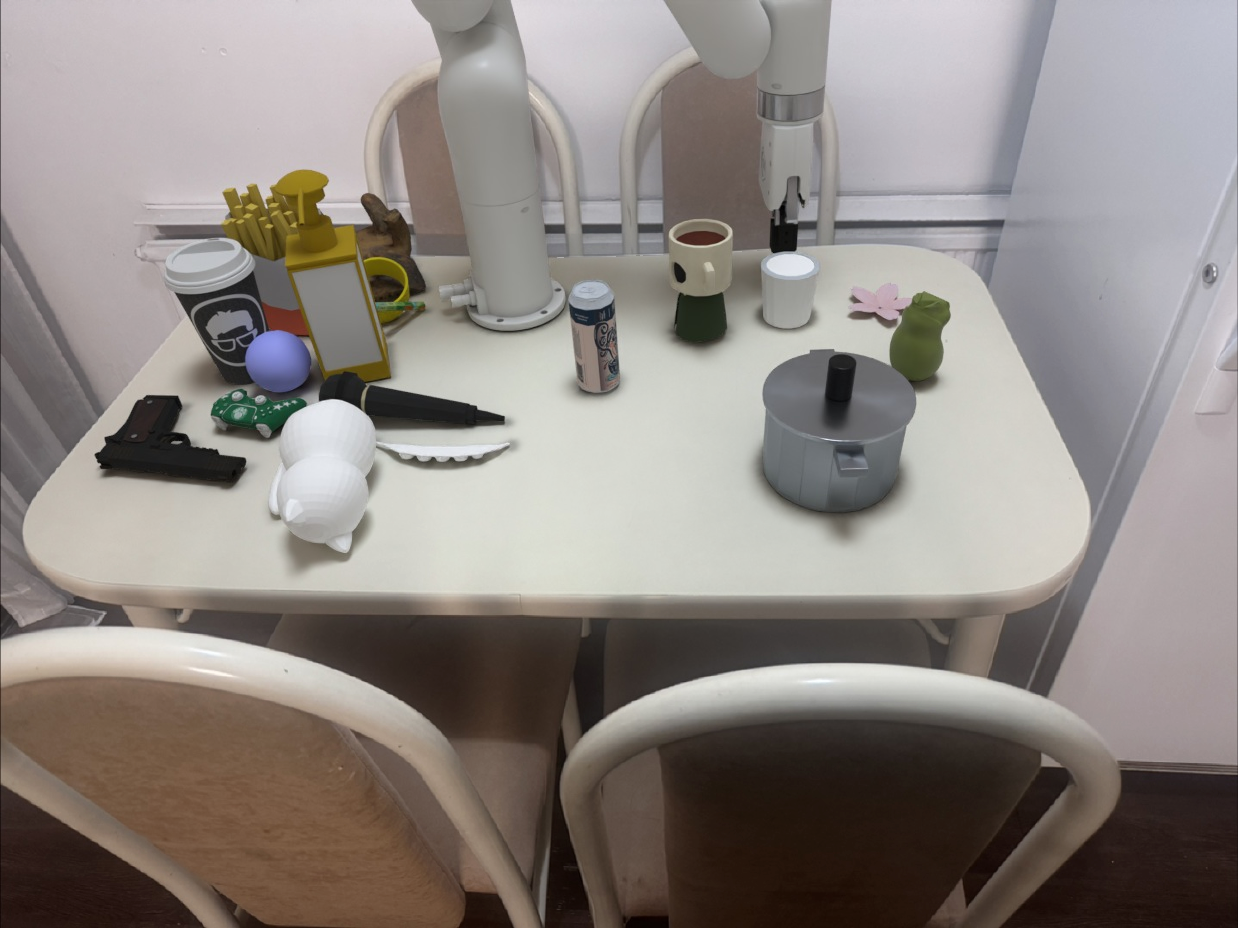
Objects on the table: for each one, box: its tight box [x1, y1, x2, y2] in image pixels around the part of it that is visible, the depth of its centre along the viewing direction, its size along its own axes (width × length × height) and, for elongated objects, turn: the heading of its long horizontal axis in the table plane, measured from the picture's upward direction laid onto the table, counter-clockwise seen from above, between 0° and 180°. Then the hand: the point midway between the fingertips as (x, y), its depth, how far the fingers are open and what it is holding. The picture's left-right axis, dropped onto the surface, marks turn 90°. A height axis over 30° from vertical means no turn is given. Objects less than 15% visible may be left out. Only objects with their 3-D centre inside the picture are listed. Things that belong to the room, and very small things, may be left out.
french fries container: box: [220, 183, 322, 336], centre depth 104 cm, size 5×11×18 cm, turn 83°
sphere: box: [245, 330, 312, 393], centre depth 98 cm, size 7×7×7 cm
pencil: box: [375, 301, 427, 312], centre depth 103 cm, size 1×1×18 cm
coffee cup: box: [163, 237, 270, 385], centre depth 99 cm, size 10×10×15 cm
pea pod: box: [376, 440, 511, 463], centre depth 89 cm, size 15×4×2 cm, turn 87°
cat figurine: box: [267, 399, 377, 554], centre depth 82 cm, size 9×12×15 cm
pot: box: [762, 348, 908, 514], centre depth 82 cm, size 13×18×8 cm
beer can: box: [567, 279, 621, 394], centre depth 93 cm, size 5×5×12 cm
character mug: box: [668, 218, 734, 344], centre depth 99 cm, size 11×7×13 cm, turn 8°
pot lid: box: [761, 351, 917, 445], centre depth 78 cm, size 14×14×5 cm
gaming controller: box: [210, 388, 308, 439], centre depth 94 cm, size 9×4×6 cm
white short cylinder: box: [760, 251, 821, 330], centre depth 103 cm, size 7×7×7 cm
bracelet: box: [364, 257, 410, 324], centre depth 110 cm, size 7×8×3 cm
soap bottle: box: [274, 169, 392, 383], centre depth 92 cm, size 7×13×24 cm, turn 15°
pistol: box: [93, 394, 247, 484], centre depth 92 cm, size 2×18×12 cm
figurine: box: [321, 192, 426, 302], centre depth 118 cm, size 13×8×20 cm
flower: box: [847, 282, 913, 321], centre depth 105 cm, size 10×10×2 cm
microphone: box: [318, 371, 506, 425], centre depth 93 cm, size 6×6×20 cm
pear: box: [889, 290, 952, 382], centre depth 91 cm, size 6×5×10 cm
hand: (782, 249), depth 109 cm, fingers closed
